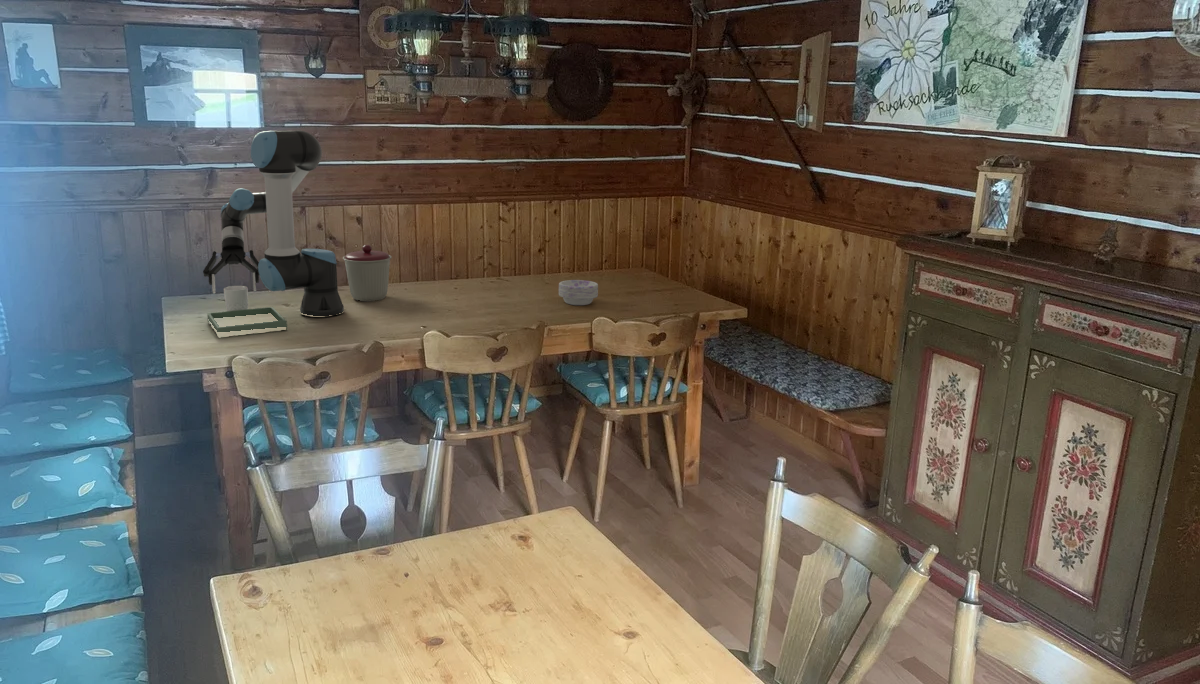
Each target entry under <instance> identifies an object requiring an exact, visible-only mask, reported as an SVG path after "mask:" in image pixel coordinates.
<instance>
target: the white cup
mask: <svg viewBox="0 0 1200 684" xmlns="http://www.w3.org/2000/svg"><path fill="white" fill-rule="evenodd" d="M248 290H249V289H248V286H246V285H231V286H230V285H229V286H227V287H224V288H223V296H224V303H225V307H226V308H225V309H226V311H235V310H245V309H249V291H248Z"/></svg>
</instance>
